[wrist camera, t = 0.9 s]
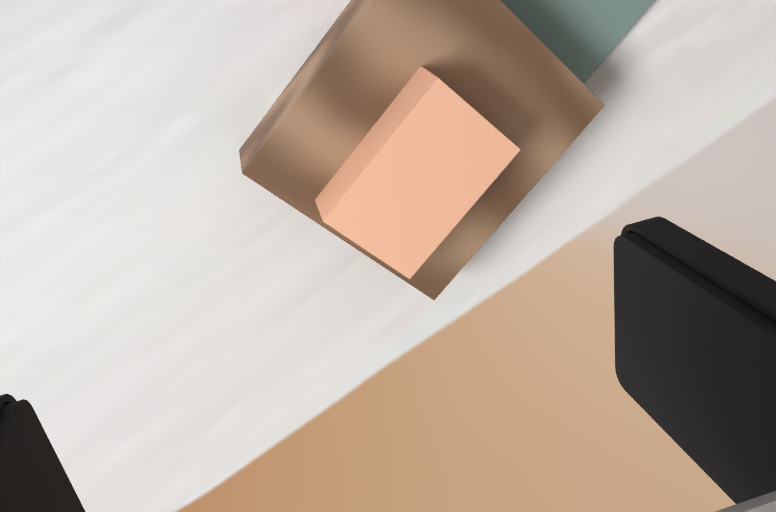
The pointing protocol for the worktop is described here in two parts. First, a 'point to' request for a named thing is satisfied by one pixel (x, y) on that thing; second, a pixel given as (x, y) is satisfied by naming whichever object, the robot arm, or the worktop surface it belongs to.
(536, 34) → the mat
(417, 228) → the peach rectangular block
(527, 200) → the worktop surface
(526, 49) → the brown block
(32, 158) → the worktop surface
